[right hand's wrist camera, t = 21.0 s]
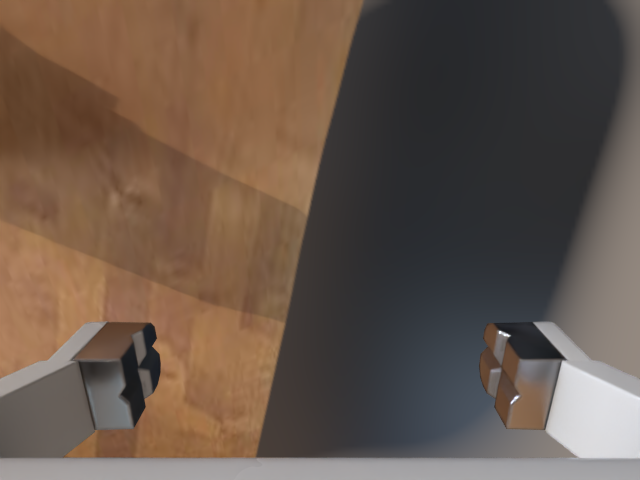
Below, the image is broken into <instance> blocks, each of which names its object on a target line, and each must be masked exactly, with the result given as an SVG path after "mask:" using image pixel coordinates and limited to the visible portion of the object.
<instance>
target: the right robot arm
mask: <svg viewBox="0 0 640 480" xmlns="http://www.w3.org/2000/svg"><path fill="white" fill-rule="evenodd" d="M156 339H157V337H156V332H155V327H154V326H153V325H152V324H151V323H138V322H88V323H85V324H84V325H83V326H82V327H81V328H80V329H79V330H78V331H77V332H76V333H75V334H74V335H73V336H72V337H71V338H70V339H69V340H68V341H67V342H66V343H65V344H64V345H63V346H62V347H61V348H60V349H59V350H58V351H57V352H56V353H55V354H54V355H53V356H52V357H51V358H50V359H49V360H48V361H39V362H37V363H34V364H32V365H30V366H28V367H25V368H23V369H21V370H19V371H16V372H14V373H12V374H10V375H7V376H5V377H3V378H1V379H0V480H640V379H639V378H637V377H635V376H633V375H630V374H628V373H626V372H624V371H621V370H619V369H617V368H614V367H612V366H610V365H608V364H606V363H603V362H601V361H592V360H591V359H590V358H589V357H588V356H587V355H586V354H585V353H584V352H583V351H582V350H581V349H580V348H579V347H578V346H577V345H576V344H575V343H574V342H573V341H572V340H571V339H570V338H569V337H568V336H567V335H566V334H565V333H564V332H563V331H562V330H561V329H560V328H559V327H558V326H557V325H556V324H555V323H552V322H522V323H488V324H487V326H486V328H485V331H484V337H483V339H484V341H485V342H486V344H487V345H488V347H487V348H486V349H485V350H484V351H483V352H482V353H481V356H480V364H479V368H480V378H481V381H482V384H483V387H484V389H485V391H486V392H487V394H489V395H490V396H492V397H493V398H495V399H496V401H495V409H496V411H497V413H498V414H499V416H500V418H501V420H502V422H503V423H504V425H505V427H506V429H531V430H545V432H546V433H547V434H549V435H550V436H551V437H552V438H554V439H555V440H556V441H558V442H559V443H560V444H561V445H563V446H564V447H565V448H567V449H568V450H569V451H570V452H572V453H573V454H574V455H575V456H577V457H578V458H62V457H64V456H65V455H66V454H67V453H69V452H70V451H71V450H72V449H74V448H75V447H76V446H78V445H79V444H80V443H81V442H83V441H84V440H85V439H86V438H88V437H89V436H90V435H92V434H93V433H94V432H95V430H110V429H134V427H135V425H136V423H137V422H138V420H139V418H140V416H141V414H142V413H143V411H144V409H145V401H144V399H145V398H147V397H148V396H150V395H151V394H153V392H154V391H155V389H156V387H157V385H158V381H159V376H160V367H161V362H160V355H159V353H158V352H157V351H156V350H155V349H154V348H153V347H152V345H153V344H154V342H155V341H156Z"/></svg>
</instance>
